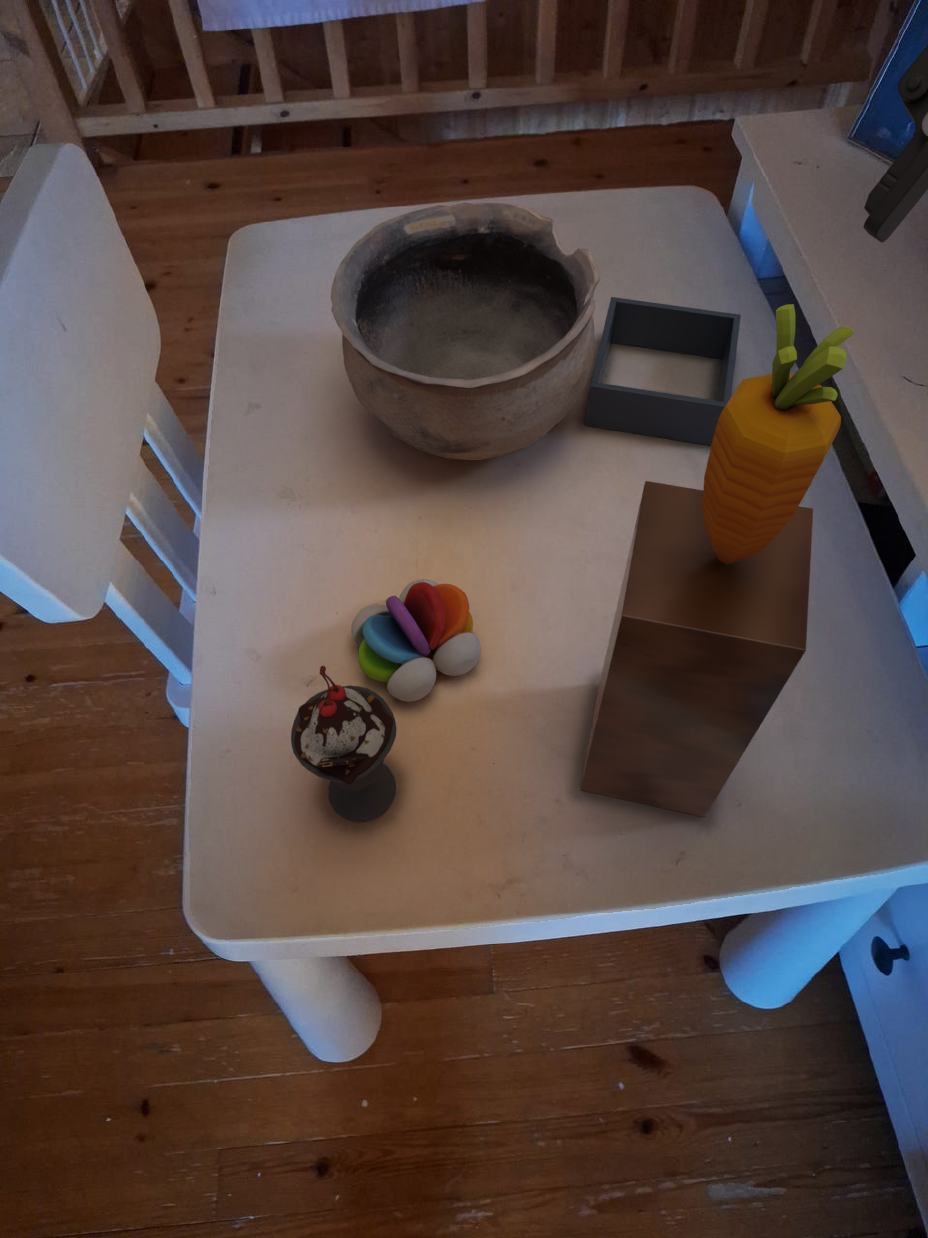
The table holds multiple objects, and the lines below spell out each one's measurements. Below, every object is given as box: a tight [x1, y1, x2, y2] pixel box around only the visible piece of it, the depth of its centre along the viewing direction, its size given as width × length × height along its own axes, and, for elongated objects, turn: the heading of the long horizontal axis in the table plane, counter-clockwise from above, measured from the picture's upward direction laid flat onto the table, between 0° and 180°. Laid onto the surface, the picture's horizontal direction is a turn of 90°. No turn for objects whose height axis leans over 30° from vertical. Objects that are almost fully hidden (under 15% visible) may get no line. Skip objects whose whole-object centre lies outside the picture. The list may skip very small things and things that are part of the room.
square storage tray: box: [584, 296, 742, 447], centre depth 84 cm, size 12×12×5 cm
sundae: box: [290, 665, 397, 823], centre depth 59 cm, size 7×7×15 cm
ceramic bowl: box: [330, 202, 601, 461], centre depth 79 cm, size 22×22×15 cm
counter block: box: [579, 480, 814, 818], centre depth 57 cm, size 9×9×24 cm
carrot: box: [702, 303, 855, 564], centre depth 40 cm, size 5×5×15 cm
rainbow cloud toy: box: [350, 578, 481, 702], centre depth 69 cm, size 8×10×7 cm
